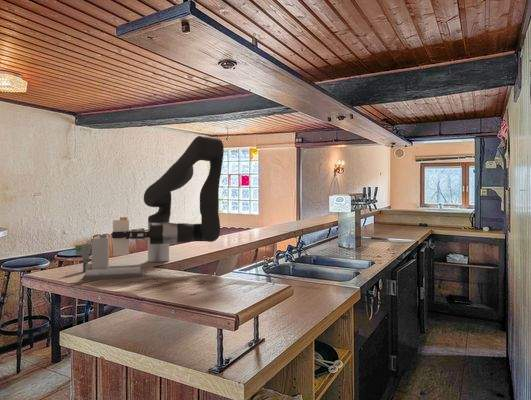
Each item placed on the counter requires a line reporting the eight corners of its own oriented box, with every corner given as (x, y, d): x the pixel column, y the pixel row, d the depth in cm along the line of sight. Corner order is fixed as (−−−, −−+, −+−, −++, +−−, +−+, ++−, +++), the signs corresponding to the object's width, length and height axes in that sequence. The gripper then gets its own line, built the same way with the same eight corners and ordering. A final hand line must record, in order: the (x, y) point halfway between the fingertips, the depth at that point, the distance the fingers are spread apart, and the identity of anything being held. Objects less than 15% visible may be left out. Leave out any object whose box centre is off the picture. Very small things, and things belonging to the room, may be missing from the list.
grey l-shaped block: (88, 274, 135) (88, 234, 135) (141, 271, 140) (142, 233, 141) (83, 280, 124) (83, 236, 124) (141, 277, 129) (142, 235, 129)
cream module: (113, 254, 134) (113, 217, 134) (129, 253, 136) (129, 217, 136) (112, 255, 130) (112, 217, 130) (128, 255, 131) (128, 217, 132)
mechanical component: (96, 269, 147) (96, 243, 147) (81, 273, 137) (81, 245, 137) (89, 269, 147) (89, 243, 148) (73, 273, 137) (73, 245, 137)
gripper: (162, 222, 144) (114, 223, 139) (164, 223, 131) (110, 224, 125) (162, 242, 144) (113, 244, 139) (164, 245, 130) (110, 247, 125)
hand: (112, 234), depth 132 cm, fingers closed on cream module, 4 cm apart
